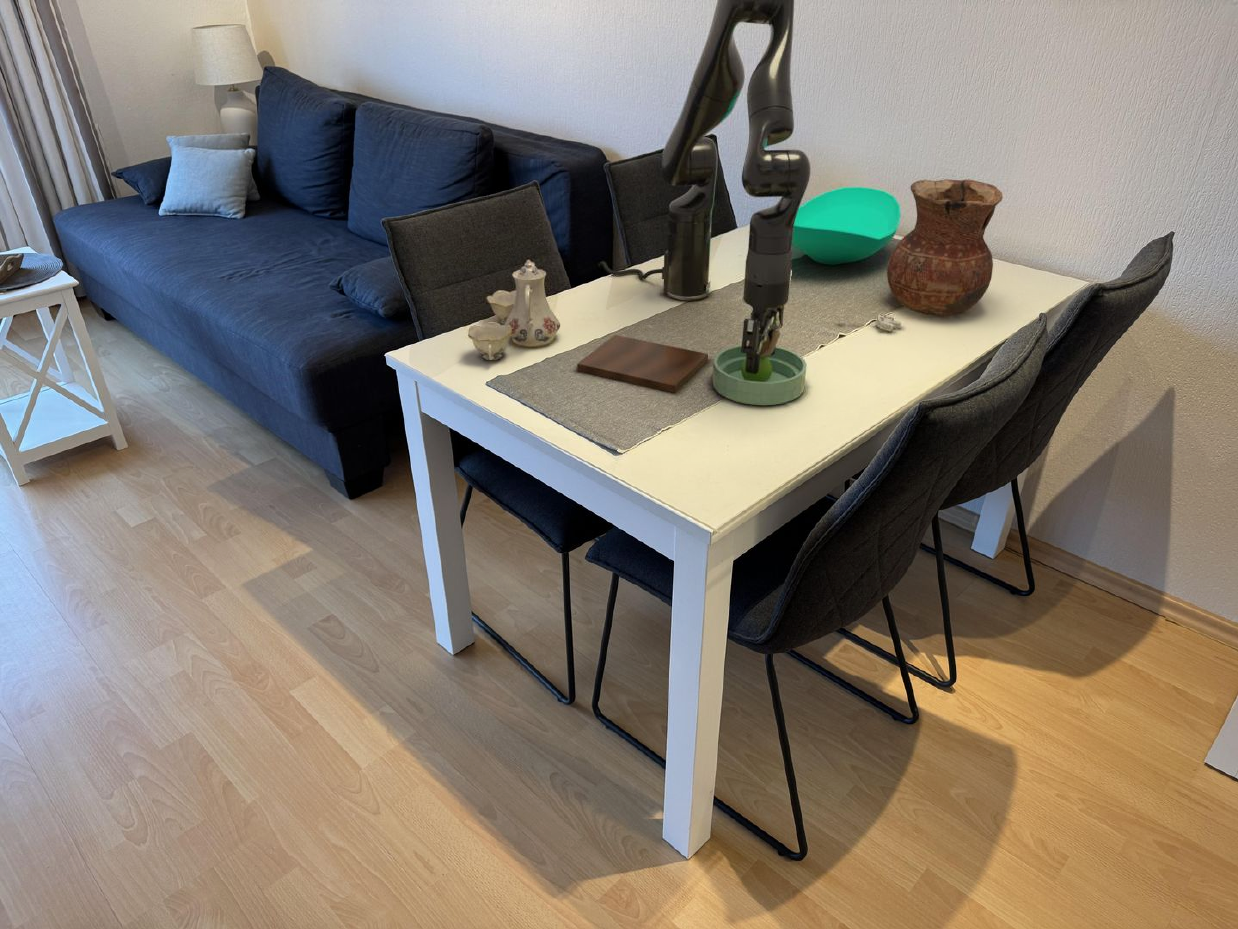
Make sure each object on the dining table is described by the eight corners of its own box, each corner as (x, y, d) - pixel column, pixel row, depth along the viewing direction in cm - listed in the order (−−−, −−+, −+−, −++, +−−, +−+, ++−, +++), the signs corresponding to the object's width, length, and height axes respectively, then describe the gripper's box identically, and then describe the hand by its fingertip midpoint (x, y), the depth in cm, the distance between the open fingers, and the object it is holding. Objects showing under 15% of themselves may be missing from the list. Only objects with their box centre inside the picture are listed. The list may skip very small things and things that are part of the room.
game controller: (904, 331, 177) (906, 319, 176) (850, 336, 175) (852, 324, 174) (892, 321, 182) (894, 309, 180) (839, 325, 180) (841, 313, 179)
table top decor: (847, 295, 194) (855, 236, 188) (740, 270, 209) (744, 214, 202) (916, 249, 221) (925, 196, 214) (817, 230, 236) (822, 180, 229)
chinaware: (488, 319, 188) (473, 243, 180) (565, 310, 188) (553, 234, 179) (471, 376, 165) (452, 293, 156) (558, 367, 164) (545, 282, 155)
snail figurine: (768, 394, 154) (774, 330, 147) (735, 385, 156) (739, 322, 150) (780, 382, 157) (786, 319, 151) (748, 374, 160) (752, 312, 154)
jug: (973, 331, 177) (1000, 207, 164) (870, 312, 186) (888, 193, 173) (992, 296, 193) (1018, 180, 180) (896, 280, 202) (915, 169, 189)
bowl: (698, 394, 154) (699, 371, 152) (732, 359, 166) (733, 337, 164) (786, 414, 148) (789, 390, 145) (815, 376, 160) (818, 354, 158)
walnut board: (577, 370, 163) (576, 363, 162) (615, 341, 174) (615, 334, 173) (674, 393, 155) (675, 385, 154) (708, 360, 166) (708, 353, 165)
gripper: (761, 259, 153) (754, 344, 162) (730, 284, 142) (725, 374, 151) (802, 265, 150) (793, 352, 159) (774, 291, 139) (766, 383, 148)
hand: (760, 363), depth 155 cm, fingers open, 8 cm apart
